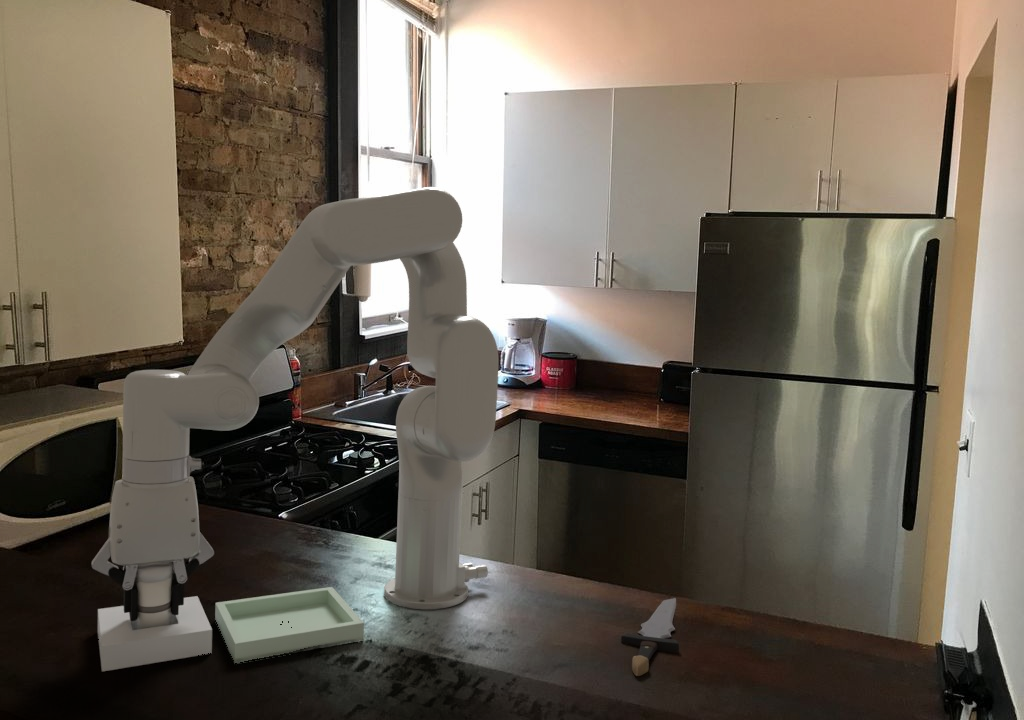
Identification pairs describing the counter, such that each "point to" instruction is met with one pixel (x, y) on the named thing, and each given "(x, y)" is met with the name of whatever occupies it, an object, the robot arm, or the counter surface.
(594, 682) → the counter surface
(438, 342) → the robot arm
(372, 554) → the counter surface
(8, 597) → the counter surface
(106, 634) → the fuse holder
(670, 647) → the dagger
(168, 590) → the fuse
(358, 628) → the parts tray
